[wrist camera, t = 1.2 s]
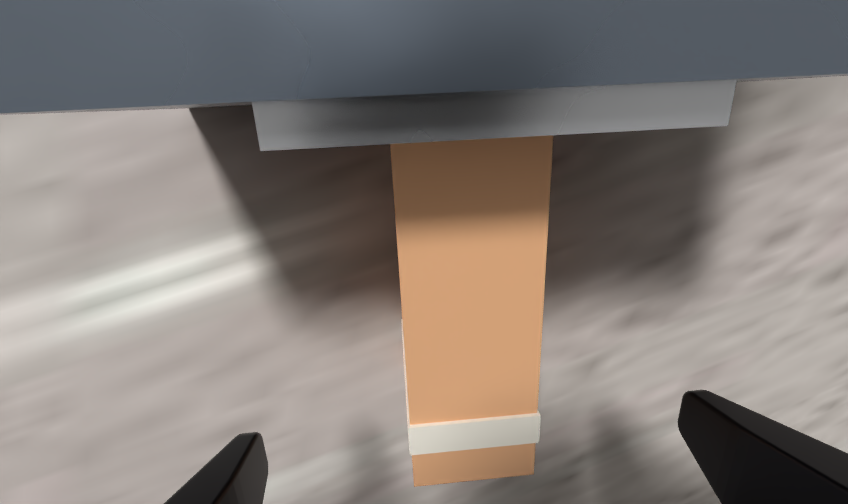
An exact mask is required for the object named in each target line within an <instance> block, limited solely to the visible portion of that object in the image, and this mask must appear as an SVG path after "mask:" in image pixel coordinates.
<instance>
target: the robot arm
mask: <svg viewBox="0 0 848 504" xmlns="http://www.w3.org/2000/svg"><path fill="white" fill-rule="evenodd" d="M678 427H679V431H680V433H681V435H682V437H683V439H684V440H685V442H686V444H687V446H688V447H689V449H690V451H691V452H692V454H693V456H694V458H695V459H696V461H697V463H698V464H699V466H700V468H701V470H702V471H703V473H704V475H705V476H706V478H707V480H708V482H709V483H710V485H711V487H712V489H713V490H714V492H715V494H716V495H717V497H718V498H719V500H720V502H721V503H722V504H848V453H845V452H843V451H841V450H839V449H836V448H834V447H832V446H830V445H828V444H825V443H823V442H821V441H819V440H816V439H814V438H812V437H810V436H807V435H805V434H803V433H801V432H799V431H796V430H794V429H792V428H790V427H787V426H785V425H783V424H781V423H779V422H776V421H774V420H772V419H770V418H767V417H765V416H763V415H761V414H758V413H756V412H754V411H752V410H750V409H747V408H745V407H743V406H741V405H738V404H736V403H734V402H732V401H729V400H727V399H725V398H723V397H721V396H718V395H716V394H714V393H712V392H709V391H707V390H694V391H687V392H685V394H684V395H683V398H682V403H681V408H680V413H679V418H678ZM267 476H268V461H267V457H266V452H265V447H264V443H263V438H262V436H261V434H260V433H258V432H253V433H242V434H239V435H238V436H236V437H235V438H234V439H233V440H232V441H231V442H230V443H229V444H227V445H226V446H225V447H224V448H223V449H222V450H221V451H220V452H219V453H218V454H217V455H216V456H215V457H214V458H212V459H211V460H210V461H209V462H208V463H207V464H206V465H205V466H204V467H203V468H202V469H201V470H200V471H198V472H197V473H196V474H195V475H194V476H193V477H192V478H191V479H190V480H189V481H188V482H187V483H186V484H184V485H183V486H182V487H181V488H180V489H179V490H178V491H177V492H176V493H175V494H174V495H173V496H172V497H171V498H169V499H168V500H167V501H166V502H165V503H164V504H263V498H264V493H265V487H266V482H267Z"/></svg>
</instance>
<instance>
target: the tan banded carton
mask: <svg viewBox="0 0 848 504" xmlns="http://www.w3.org/2000/svg"><path fill="white" fill-rule="evenodd" d="M390 150H391V164H392V178H393V193H394V207H395V221H396V235H397V250H398V264H399V278H400V292H401V306H402V320H401V323H402V340H403V356H404V373H405V389H406V406H407V422H408V437H409V451H410V455H412V463H413V477H414V487H416V486H426V485H435V484H445V483H455V482H464V481H474V480H484V479H493V478H503V477H513V476H522V475H532V474H534V461H535V444H536V443H539V437H540V421H541V415H540V413H539V411H538V392H539V375H540V357H541V340H542V323H543V305H544V288H545V271H546V254H547V236H548V219H549V202H550V185H551V167H552V150H553V135H549V136H530V137H512V138H493V139H475V140H456V141H438V142H419V143H401V144H390Z"/></svg>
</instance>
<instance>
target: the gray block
mask: <svg viewBox="0 0 848 504" xmlns="http://www.w3.org/2000/svg"><path fill="white" fill-rule="evenodd" d="M830 76H848V0H0V115H8V114H36V113H65V112H93V111H121V110H150V109H178V108H202V107H223V106H244V105H252V107H253V112H254V118H255V124H256V130H257V135H258V141H259V147H260V151H271V150H290V149H308V148H327V147H345V146H364V145H382V144H401V143H419V142H438V141H456V140H475V139H493V138H512V137H530V136H549V135H568V134H586V133H605V132H623V131H642V130H660V129H679V128H697V127H716V126H728V123H729V118H730V113H731V108H732V102H733V97H734V92H735V87H736V82H740V81H758V80H776V79H794V78H812V77H830Z"/></svg>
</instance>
